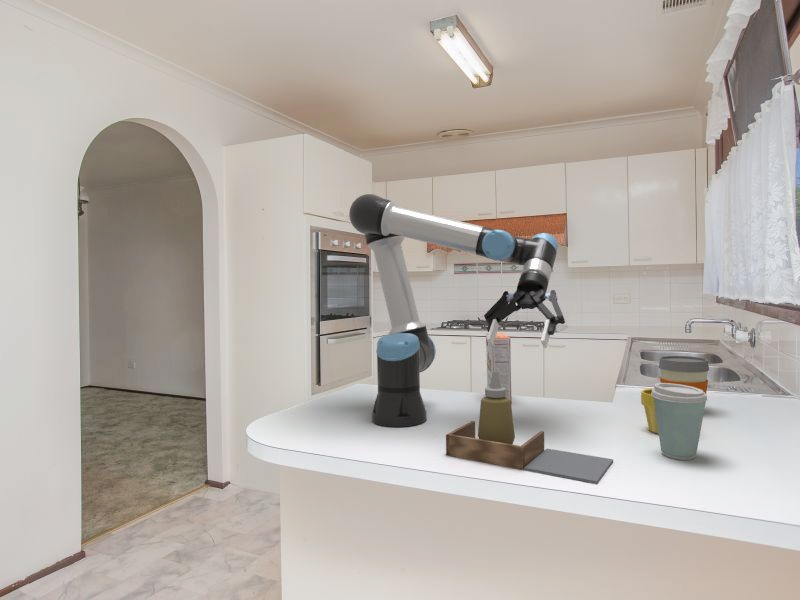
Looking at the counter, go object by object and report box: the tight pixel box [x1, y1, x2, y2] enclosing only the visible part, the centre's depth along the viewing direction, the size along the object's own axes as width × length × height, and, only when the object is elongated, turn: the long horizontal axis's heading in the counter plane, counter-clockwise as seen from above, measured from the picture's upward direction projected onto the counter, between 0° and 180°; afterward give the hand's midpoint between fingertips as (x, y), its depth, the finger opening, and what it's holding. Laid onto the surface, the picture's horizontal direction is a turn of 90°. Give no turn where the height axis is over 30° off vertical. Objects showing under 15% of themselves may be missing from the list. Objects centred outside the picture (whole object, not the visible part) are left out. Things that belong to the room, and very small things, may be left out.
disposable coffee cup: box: [651, 382, 708, 461], centre depth 111 cm, size 11×11×15 cm
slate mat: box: [523, 448, 614, 485], centre depth 106 cm, size 14×14×1 cm
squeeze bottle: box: [477, 372, 516, 445], centre depth 115 cm, size 8×8×18 cm
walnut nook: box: [445, 420, 545, 471], centre depth 115 cm, size 18×13×4 cm
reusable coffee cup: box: [658, 355, 710, 395], centre depth 147 cm, size 13×13×15 cm
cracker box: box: [485, 332, 513, 405], centre depth 166 cm, size 14×6×21 cm, turn 178°
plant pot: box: [640, 388, 659, 435], centre depth 129 cm, size 10×10×10 cm
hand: (515, 343), depth 126 cm, fingers open, 13 cm apart
